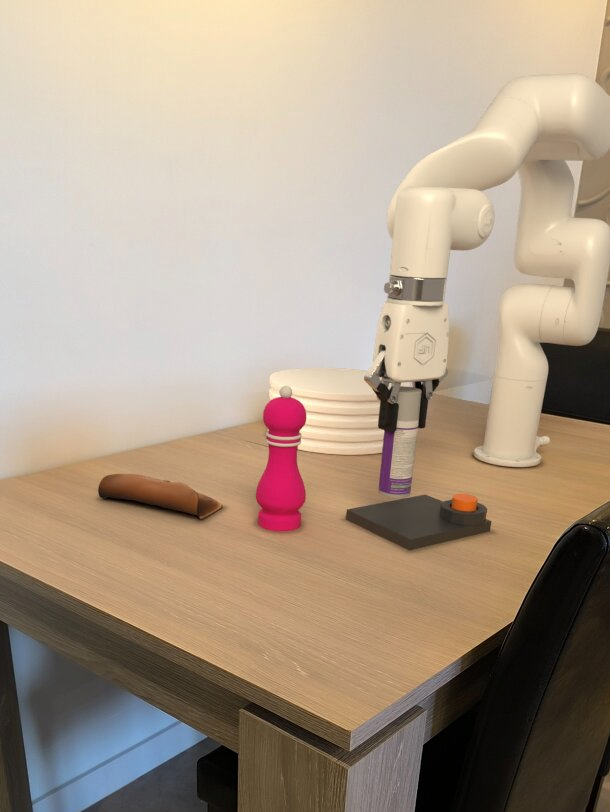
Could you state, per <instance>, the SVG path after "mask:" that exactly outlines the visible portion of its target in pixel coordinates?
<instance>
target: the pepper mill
mask: <svg viewBox="0 0 610 812" xmlns="http://www.w3.org/2000/svg"><path fill="white" fill-rule="evenodd" d="M279 393H280V396H281V397H277V398H274V399H272V400H271V399H270V400H271V401H270V400H269V401H268V402H267V403H266V405H265V406H264V408H263V413H262V421H263V423H264V426H265V427H266V428H267V431H266V432H265V436H266V438H265V442H266V444H267V445H268V457H267V462H266V466H265V468H264V471H263V473H262V475H261V477H260V479H259V481H258V483H257V486H256V490H255V500H256V503H257V505H258V506H259V508H261V509H260V510H259V511H258V515H257V524H258V526H259V527H260V528H262V529H265V530H268V531H272V532H291V531H295V530H298V529H299V528H300V527H301V525H302V513H301V511H299V510H300V509H301V508H302V507H304V504H305V503H306V500H307V495H306V492H307V491H306V487H305V483H304V480H303V478H302V475H301V473H300V469H299V466H298V445H300V444H301V437H302V434H301V433H300V432H299V431H300V430H301V429H302V428H303V426H304V425H305V423H306V410H305V408H304V406H303V404H302V403H301V402H300V401H298V400H297V399H295V398H292V397H291V396H292V389H291V388H290V387H289V386H283V387H281V389H280V391H279ZM268 430H269V431H268Z"/></svg>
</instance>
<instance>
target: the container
mask: <svg viewBox="0 0 610 812" xmlns="http://www.w3.org/2000/svg"><path fill="white" fill-rule="evenodd" d="M389 390H390V388H389ZM420 401H421V390H420V389H418V388H414V387H413V386H410V387H406V386H400V389H399V392H398V395H397V399H396V402H395V403H398V404H399V409H398V419H397V428H396V431H395V432H392V433H391V432H388V431H385V430H384V438H383V448H382V453H381V458H380V459H381V460H380V468H379V469H380V470H379V479H378V490H377V493H378V494H379V495H381V496H383V497H387V498H392V499H404V498H409V497H410V495H411V493H412V484H413V483H412V482H413V473H414V468H415V467H414V466H415V456H416V449H417V441H418V431H419V428H418V423H419V412H420Z"/></svg>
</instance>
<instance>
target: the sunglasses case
mask: <svg viewBox="0 0 610 812" xmlns="http://www.w3.org/2000/svg"><path fill="white" fill-rule="evenodd" d="M97 492H98V496H99V498H101V499H104V498H110V499H118V500H121V499H123V500H125V501H135V502H138V503H143V504H147V505H152V506H158V507H161V508H164V509H169V510H173V511H174V510H175V511H178V512H181V513H187V514H190V515H194V516H195V515H196V516H197V518H198V519H200V520H204V519H206V518H208V517H211V516H212V515H214V514H215V513H216V512H218V511H220V510H221V509H222V508H223V504H222V503H220V502H219V501H218V500H216V499H214V498H213V497H211V496H209V495H205V494H203V493H201V492H197V491H196V490H195V489H193V488H192V487H190V486H189V485H187V484H186V483H183V482H180V481H178V482H177V481H171V480H169V479H159V478H155V477H151V476H148V475H143V474H137V473H114V474H113V473H112V474H107V475H105V476H103V478H102V479H100V482H99V484H98V488H97Z"/></svg>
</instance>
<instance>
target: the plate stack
mask: <svg viewBox="0 0 610 812" xmlns="http://www.w3.org/2000/svg"><path fill="white" fill-rule="evenodd" d="M367 371H368V370H365V369H359V368H358V369H356V368H346V367H345V368H344V367H343V368H342V367H299V368H288V369H283V370H278V371H275V372H273V373H271V374H270V375H269V386H270V387H269V389H268V398H269V401H271V400H272V399H274V398H277V397H281V396H280V393H279V391H280V389H281V387H283V386H289V387H290V388H291V389H292V396H291V397H292V398H295V399H297V400H298V401H300V402H301V403H302V404H303V406H304V408H305V410H306V423H305V425H304V426H303V428H302V429H301V430H300V431H299V432H300V433H301V434H302V437H301V444H300V445H298V449H297V451H298V450H300V451H303V452H309V453H316V454H324V455H325V454H326V455H339V456H360V455H361V456H362V455H375V454H382V448H383V438H384V430H382V429H379V428H378V420H379V410H380V400H378V399H377V395H376V394H375V392H374V391H373V389H372V387H370V386H369V385H368V384H367V383H366V382H365V381H364V376H365V375H366V373H367ZM379 378H380V380H381V379H382V377H379ZM391 384H392V383H389V387H388V389H389V388H390V387H391ZM400 386H406V387H411V382H401V385H400ZM267 431H269V430H268V429H267Z"/></svg>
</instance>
